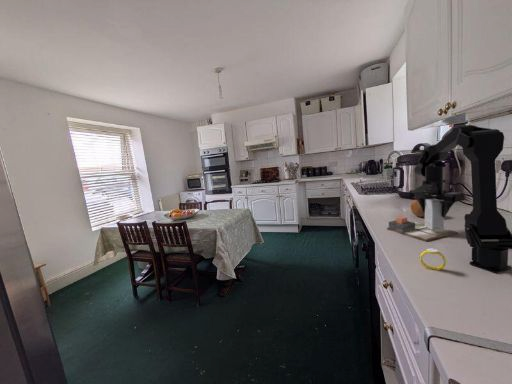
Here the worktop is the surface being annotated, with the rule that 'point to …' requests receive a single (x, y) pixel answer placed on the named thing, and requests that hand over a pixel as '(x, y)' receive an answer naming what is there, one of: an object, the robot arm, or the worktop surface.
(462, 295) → the worktop surface
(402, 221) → the button
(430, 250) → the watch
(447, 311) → the worktop surface
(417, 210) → the onion
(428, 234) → the square tray
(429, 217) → the skincare box
